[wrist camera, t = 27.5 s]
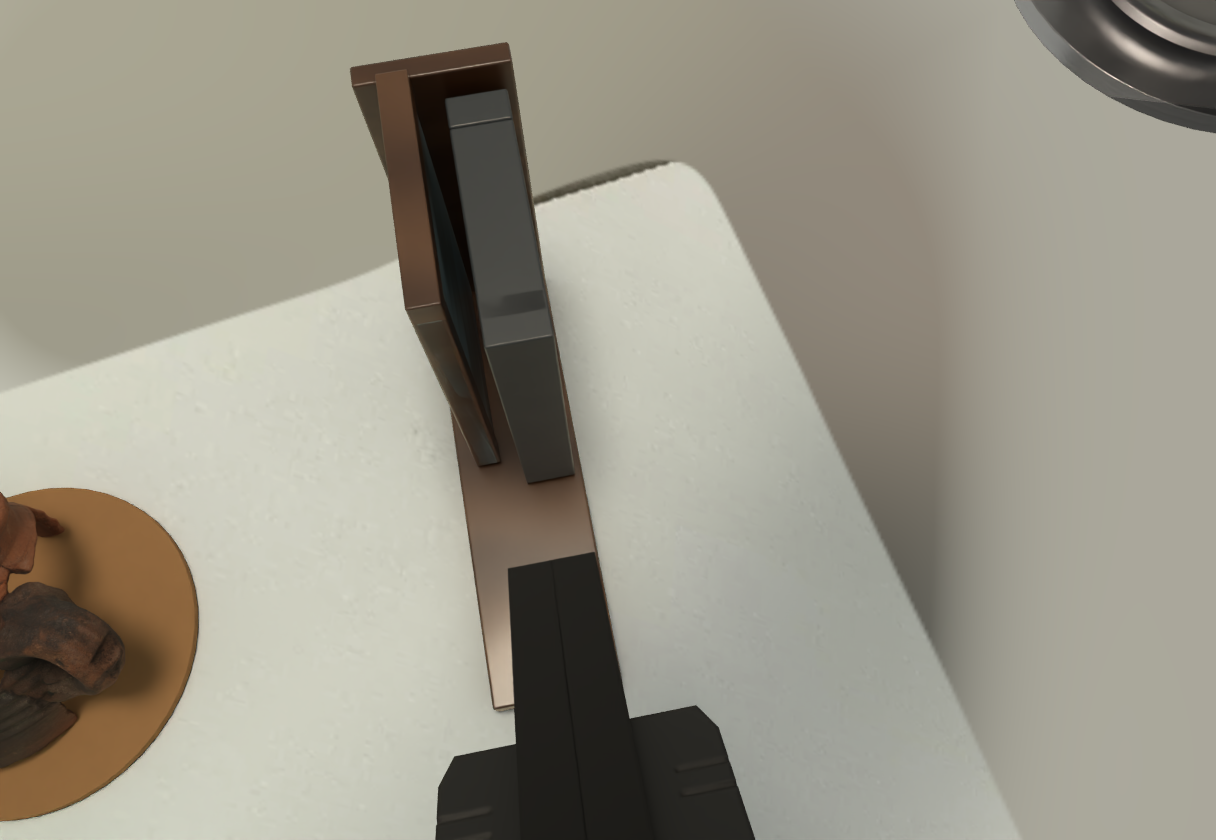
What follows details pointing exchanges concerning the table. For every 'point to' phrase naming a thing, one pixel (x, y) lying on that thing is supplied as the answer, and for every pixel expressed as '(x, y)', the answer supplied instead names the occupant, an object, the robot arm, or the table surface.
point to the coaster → (138, 612)
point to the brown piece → (467, 330)
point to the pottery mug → (44, 643)
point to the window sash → (509, 281)
